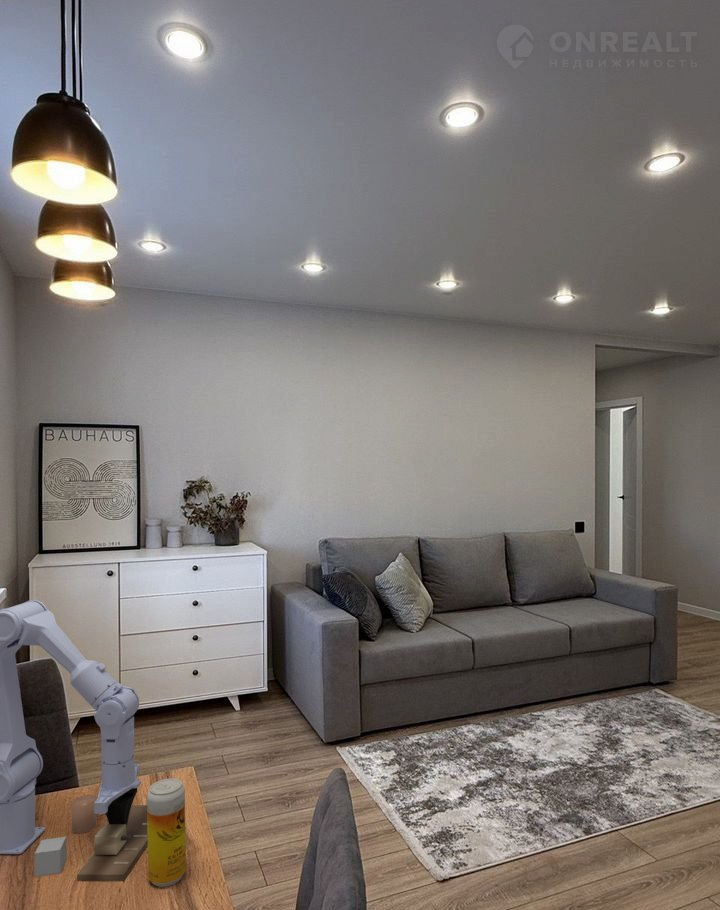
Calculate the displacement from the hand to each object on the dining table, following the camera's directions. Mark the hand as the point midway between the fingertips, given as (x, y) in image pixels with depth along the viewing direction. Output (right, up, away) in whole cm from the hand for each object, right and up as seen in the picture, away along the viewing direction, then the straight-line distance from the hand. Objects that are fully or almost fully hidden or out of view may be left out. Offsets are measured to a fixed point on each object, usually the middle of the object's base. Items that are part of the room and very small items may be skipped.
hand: (118, 833), depth 112 cm
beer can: (+12, -1, -10) cm, 16 cm away
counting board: (+2, -2, 0) cm, 3 cm away
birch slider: (+1, 0, -3) cm, 3 cm away
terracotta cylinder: (-9, -3, +6) cm, 11 cm away
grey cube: (-9, -2, -7) cm, 11 cm away
